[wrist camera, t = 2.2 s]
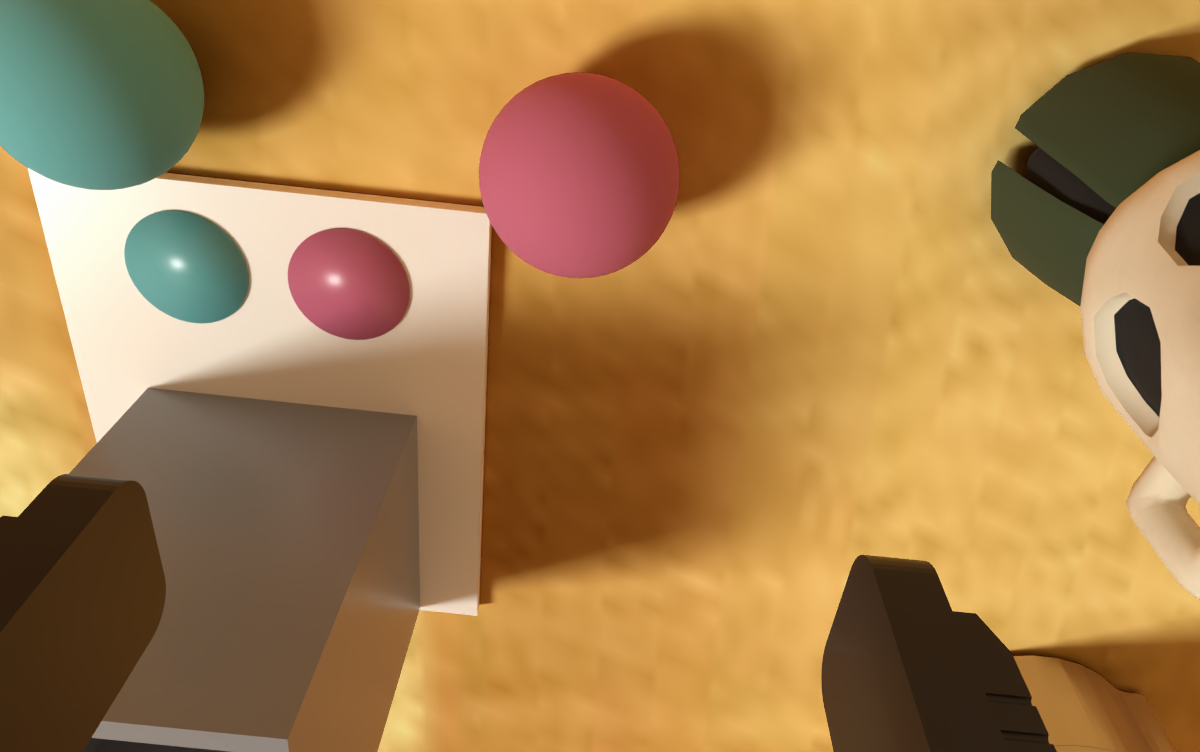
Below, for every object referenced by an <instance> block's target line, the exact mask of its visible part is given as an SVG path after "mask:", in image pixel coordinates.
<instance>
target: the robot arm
mask: <svg viewBox="0 0 1200 752" xmlns="http://www.w3.org/2000/svg"><path fill="white" fill-rule="evenodd" d="M165 597H166V581H165V575H164V571H163V567H162V562H161V558H160V554H159V549H158V545H157V540H156V536H155V532H154V527H153V523H152V519H151V514H150V510H149V505H148V501H147V497H146V494H145V491H144V489H143V487H142V486H141V485H140V484H139V483H138V482H136V481H133V480H123V479H113V478H103V477H93V476H83V475H73V474H63V475H61V476H58V477H57V478H55V479H53V480H52V481H51V482H50V483H49V484H48V485H47V486H46V487H45V488H44V489H43V490H42V492H41V493H40V494H39V495H38V496H37V497H36V498H35V499H34V500H33V501H32V502H31V504H30V505H29V506H28V507H27V508H26V509H25V510H24V511H23V512H22V513H21V514H20V515H19V517H10V516H2V517H0V752H83V751H84V749H85V747H86V746H87V744H88V742H89V741H90V739H91V738H92V736H93V734H94V733H95V731H96V729H97V728H98V726H99V724H100V723H101V721H102V720H103V718H104V716H105V715H106V713H107V711H108V710H109V708H110V706H111V705H112V703H113V702H114V700H115V698H116V697H117V695H118V693H119V692H120V690H121V689H122V687H123V685H124V684H125V682H126V680H127V679H128V677H129V675H130V674H131V672H132V671H133V669H134V667H135V666H136V664H137V662H138V661H139V659H140V657H141V656H142V654H143V653H144V651H145V649H146V648H147V646H148V644H149V643H150V641H151V640H152V638H153V636H154V634H155V632H156V630H157V628H158V625H159V623H160V620H161V617H162V613H163V609H164V604H165ZM822 695H823V702H824V708H825V712H826V717H827V722H828V727H829V731H830V736H831V741H832V745H833V750H834V752H1177V751H1176V749H1175V748H1174V746H1173V744H1172V743H1171V741H1170V739H1169V737H1168V736H1167V734H1166V732H1165V731H1164V729H1163V727H1162V726H1161V724H1160V722H1159V720H1158V719H1157V717H1156V715H1155V714H1154V712H1153V710H1152V708H1151V707H1150V705H1149V703H1148V702H1147V700H1146V698H1145V697H1144V695H1142V694H1137V693H1127V692H1123V691H1119V690H1118V689H1116V688H1115V687H1113V686H1112V685H1111V684H1110V683H1109V682H1108V681H1106V680H1105V679H1104V678H1103V677H1102V676H1101V675H1100V674H1098V673H1096V672H1094V671H1092V670H1090V669H1088V668H1086V667H1084V666H1082V665H1080V664H1077V663H1073V662H1070V661H1066V660H1062V659H1059V658H1052V657H1042V656H1033V655H1030V656H1013V655H1012V653H1011V652H1010V651H1009V649H1008V648H1007V647H1006V646H1005V645H1004V644H1003V643H1002V642H1001V641H1000V640H999V638H998V637H997V636H996V635H995V634H994V633H993V632H992V631H991V630H990V629H989V627H988V626H987V625H986V624H985V623H984V622H983V621H982V620H981V619H980V618H979V616H978V615H977V614H974V613H964V612H954V611H952V609H951V607H950V604H949V602H948V599H947V597H946V595H945V592H944V590H943V587H942V585H941V582H940V580H939V577H938V575H937V573H936V571H935V569H934V567H933V566H932V565H931V564H930V563H929V562H927V561H919V560H909V559H899V558H889V557H879V556H869V555H860V556H858V557H857V558H856V560H855V561H854V563H853V565H852V568H851V571H850V574H849V577H848V580H847V583H846V586H845V589H844V592H843V595H842V598H841V601H840V604H839V607H838V610H837V613H836V616H835V619H834V622H833V625H832V627H831V630H830V633H829V636H828V639H827V642H826V646H825V650H824V655H823V662H822Z"/></svg>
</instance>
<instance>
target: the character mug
mask: <svg viewBox="0 0 1200 752" xmlns="http://www.w3.org/2000/svg"><path fill="white" fill-rule="evenodd" d="M1015 128H1016V129H1017V130H1018V131H1020V132H1021V133H1022V134H1023V135H1025V136H1026V137H1027V138H1028V139H1030V140H1031V141H1032V142H1033V143H1035V144H1036V145H1037V146H1038V148H1037V149H1036V150H1035V151H1034V152H1033V153H1032V154H1031V155H1030V157H1029V160H1028V164H1027V169H1026V173H1025V177H1022V176H1021V175H1019V174H1018V173H1017V172H1015V171H1014V170H1012V169H1011V168H1009V167H1008V166H1006V165H1005V164H1003V163H1002V162H1000V161H999V160H998V162H997V164H996V165H995V167H994V169H993V171H992V181H991V219H992V221H993V223H994V224H995V226H996V228H997V230H998V232H999V233H1000V235H1001V237H1002V239H1003V241H1004V243H1005V244H1006V246H1007V248H1008V250H1009V252H1010V254H1011V255H1012V257H1013V258H1014V259H1015V260H1016V261H1018V262H1019V263H1020V264H1021V265H1023V266H1024V267H1025V268H1026V269H1028V270H1029V271H1030V272H1031V273H1032V274H1034V275H1035V276H1036V277H1037V278H1039V279H1040V280H1041V281H1042V282H1044V283H1045V284H1046V285H1048V286H1049V287H1051V288H1052V289H1054V290H1056V291H1057V292H1059V293H1060V294H1062V295H1063V296H1065V297H1066V298H1068V299H1070V300H1071V301H1073V302H1074V303H1076V304H1077V305H1079V306H1080V311H1081V322H1082V332H1083V343H1084V354H1085V356H1086V358H1087V360H1088V362H1089V364H1090V366H1091V369H1092V371H1093V374H1094V376H1095V378H1096V381H1097V383H1098V385H1099V388H1100V390H1101V392H1102V393H1103V395H1104V396H1105V397H1106V398H1107V400H1108V401H1109V402H1110V403H1111V404H1112V406H1113V407H1114V408H1115V409H1116V410H1117V412H1118V413H1119V414H1120V415H1121V417H1122V418H1123V419H1124V420H1125V421H1126V423H1127V424H1128V425H1129V426H1130V427H1131V429H1132V430H1133V431H1134V432H1135V433H1136V435H1137V436H1138V437H1139V438H1140V439H1141V441H1142V442H1143V443H1144V444H1145V445H1146V446H1147V448H1148V449H1149V450H1150V451H1151V452H1152V454H1153V455H1154V457H1153V459H1152V460H1151V461H1150V463H1149V464H1148V465H1147V467H1146V468H1145V469H1144V471H1143V472H1142V473H1141V475H1140V476H1139V477H1138V479H1137V480H1136V481H1135V483H1134V484H1133V486H1132V489H1131V491H1130V494H1129V496H1128V498H1127V501H1126V503H1127V506H1128V509H1129V512H1130V515H1131V518H1132V520H1133V521H1134V523H1135V524H1136V525H1137V527H1138V528H1139V530H1140V531H1141V532H1142V534H1143V535H1144V537H1145V538H1146V539H1147V541H1148V542H1149V544H1150V545H1151V546H1152V548H1153V549H1154V551H1155V552H1156V553H1157V555H1158V556H1159V557H1160V559H1161V560H1162V562H1163V563H1164V564H1165V566H1166V567H1167V568H1168V570H1169V571H1170V573H1171V574H1172V575H1173V577H1174V578H1175V580H1176V581H1177V582H1178V583H1179V584H1180V585H1181V586H1182V587H1184V588H1185V589H1186V590H1187V591H1188V592H1189V593H1191V594H1192V595H1193V596H1195V597H1196V598H1198V599H1199V600H1200V527H1199V526H1198V525H1197V524H1196V522H1195V521H1194V520H1193V519H1192V518H1191V516H1190V515H1189V514H1188V512H1187V510H1186V507H1185V506H1186V503H1187V501H1188V499H1189V498H1190V497H1191V496H1192V497H1193V498H1194V499H1195V500H1196V501H1197V502H1198V503H1199V504H1200V63H1199V62H1197V61H1195V60H1194V59H1192V58H1191V57H1182V56H1168V55H1155V54H1141V53H1128V52H1127V53H1124V54H1122V55H1119V56H1117V57H1114V58H1111V59H1109V60H1106V61H1103V62H1101V63H1098V64H1096V65H1093V66H1090V67H1088V68H1085V69H1082V70H1080V71H1077V72H1075V73H1072V74H1069V75H1067V76H1066V77H1065V78H1063V79H1062V80H1061V81H1060V82H1059V83H1058V84H1056V85H1055V86H1054V87H1053V88H1052V89H1051V90H1049V91H1048V92H1047V93H1046V94H1045V95H1044V96H1042V97H1041V98H1040V99H1039V100H1038V101H1037V102H1035V103H1034V104H1033V105H1032V106H1031V107H1030V108H1028V109H1027V110H1026V111H1025V112H1024V113H1023V114H1021V116H1020V119H1019V121H1018V123H1017V125H1016V127H1015Z"/></svg>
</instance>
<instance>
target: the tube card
mask: <svg viewBox="0 0 1200 752" xmlns="http://www.w3.org/2000/svg"><path fill="white" fill-rule="evenodd" d="M28 171H29V175H30V179H31V183H32V187H33V191H34V195H35V199H36V203H37V207H38V211H39V215H40V219H41V223H42V227H43V231H44V235H45V239H46V243H47V247H48V251H49V255H50V259H51V262H52V266H53V270H54V274H55V278H56V282H57V286H58V290H59V294H60V298H61V302H62V306H63V310H64V314H65V318H66V322H67V326H68V330H69V334H70V338H71V342H72V346H73V350H74V354H75V358H76V362H77V366H78V370H79V374H80V378H81V382H82V386H83V390H84V394H85V398H86V402H87V406H88V410H89V414H90V418H91V422H92V426H93V430H94V434H95V438H96V442H97V444H96V445H95V446H94V447H93V448H92V449H91V450H90V451H89V453H88V454H87V455H86V456H85V457H84V458H83V459H82V460H81V461H80V462H79V463H78V465H77V466H76V467H75V468H74V469H73V470H72V471H71V472H70V473H69V474H73V475H83V476H93V477H103V478H113V479H123V480H133V481H136V482H138V483H139V484H140V485H141V486H142V487H143V489H144V491H145V494H146V497H147V501H148V505H149V510H150V514H151V519H152V523H153V527H154V532H155V536H156V540H157V545H158V549H159V554H160V558H161V562H162V567H163V571H164V575H165V581H166V597H165V604H164V609H163V613H162V617H161V620H160V623H159V625H158V628H157V630H156V632H155V634H154V636H153V638H152V640H151V641H150V643H149V644H148V646H147V648H146V649H145V651H144V653H143V654H142V656H141V657H140V659H139V661H138V662H137V664H136V666H135V667H134V669H133V671H132V672H131V674H130V675H129V677H128V679H127V680H126V682H125V684H124V685H123V687H122V689H121V690H120V692H119V693H118V695H117V697H116V698H115V700H114V702H113V703H112V705H111V706H110V708H109V710H108V711H107V713H106V715H105V716H104V718H103V720H102V721H101V723H100V724H99V726H98V728H97V729H96V731H95V733H94V734H93V736H92V738H91V739H90V741H89V742H88V744H87V746H86V747H85V749H84V751H83V752H377V751H378V748H379V744H380V741H381V737H382V734H383V731H384V727H385V724H386V721H387V717H388V714H389V710H390V707H391V704H392V700H393V697H394V693H395V690H396V687H397V683H398V680H399V677H400V673H401V670H402V666H403V663H404V660H405V656H406V653H407V650H408V646H409V643H410V639H411V636H412V633H413V629H414V626H415V622H416V619H417V616H418V612H419V610H425V611H435V612H445V613H455V614H465V615H475V616H477V614H478V609H479V597H480V567H481V537H482V507H483V477H484V447H485V417H486V387H487V357H488V327H489V297H490V267H491V237H492V225H491V223H490V220H489V218H488V216H487V214H486V212H485V208H484V207H480V206H471V205H462V204H452V203H443V202H434V201H425V200H415V199H406V198H397V197H387V196H378V195H369V194H359V193H350V192H341V191H331V190H322V189H313V188H304V187H294V186H285V185H276V184H266V183H257V182H248V181H238V180H229V179H220V178H210V177H201V176H192V175H183V174H173V173H163V174H162V175H160V176H158V177H157V178H155V179H153V180H151V181H148V182H146V183H143V184H141V185H136V186H132V187H128V188H124V189H115V190H90V189H84V188H78V187H73V186H69V185H65V184H62V183H58V182H56V181H53V180H51V179H48V178H46V177H44V176H42V175H40V174H38V173H37V172H35V171H33V170H31V169H29V168H28Z"/></svg>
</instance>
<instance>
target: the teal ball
mask: <svg viewBox="0 0 1200 752" xmlns="http://www.w3.org/2000/svg"><path fill="white" fill-rule="evenodd" d="M203 111H204V85H203V80H202V75H201V71H200V68H199V65H198V62H197V59H196V57H195V54H194V52H193V50H192V48H191V46H190V44H189V43H188V41H187V39H186V38H185V36H184V35H183V33H182V32H181V31H180V29H179V28H178V27H177V25H176V24H175V23H174V22H173V21H172V20H171V19H170V18H169V16H168V15H166V14H165V13H164V12H163V11H162V10H161V9H160V8H159V7H158V6H157V5H155V4H154V3H153V2H151V1H150V0H0V146H1V147H2V148H3V149H4V150H5V151H7V152H8V153H9V154H10V155H11V156H12V157H14V158H15V159H16V160H17V161H19V162H20V163H21V164H23V165H25V166H26V167H28V168H29V169H31V170H33V171H35V172H37V173H38V174H40V175H42V176H44V177H46V178H48V179H51V180H53V181H56V182H58V183H62V184H65V185H69V186H73V187H78V188H84V189H90V190H115V189H124V188H128V187H132V186H136V185H141V184H143V183H146V182H148V181H151V180H153V179H155V178H157V177H158V176H160V175H162V174H163V173H165V172H167V171H168V170H169V169H170V168H172V167H173V166H174V165H175V164H176V163H177V162H178V161H179V160H181V159H182V157H183V156H184V155H185V154H186V152H187V151H188V150H189V148H190V146H191V145H192V143H193V141H194V140H195V138H196V136H197V133H198V131H199V128H200V125H201V121H202V116H203Z"/></svg>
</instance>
